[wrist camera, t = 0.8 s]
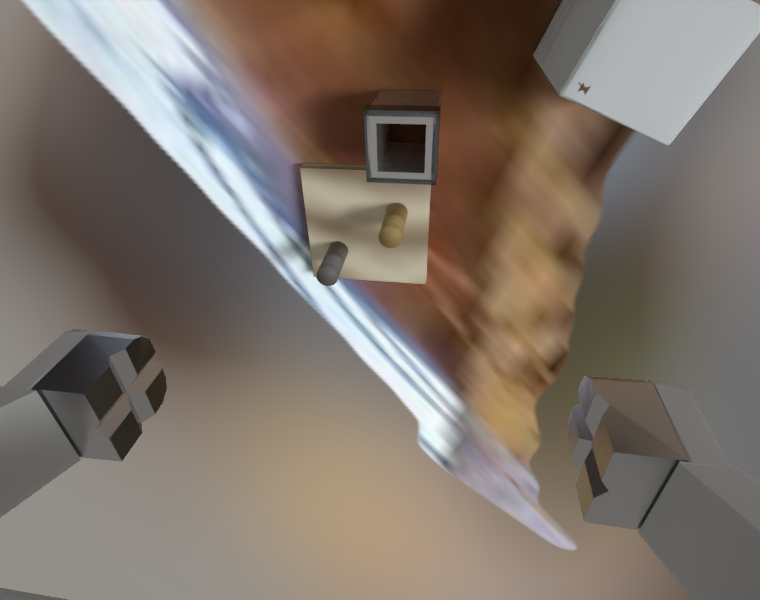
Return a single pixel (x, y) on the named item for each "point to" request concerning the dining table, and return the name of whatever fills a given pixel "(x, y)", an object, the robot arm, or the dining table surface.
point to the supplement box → (645, 57)
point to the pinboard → (365, 225)
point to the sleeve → (400, 157)
